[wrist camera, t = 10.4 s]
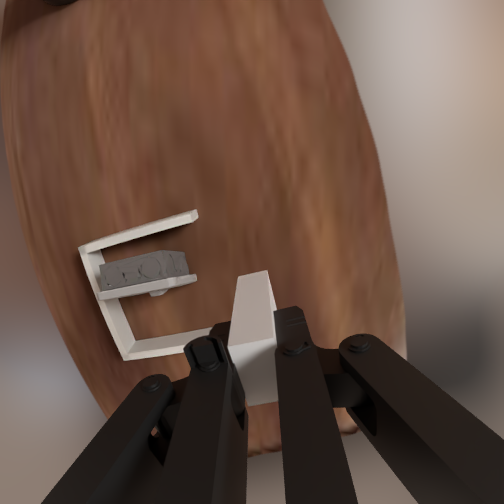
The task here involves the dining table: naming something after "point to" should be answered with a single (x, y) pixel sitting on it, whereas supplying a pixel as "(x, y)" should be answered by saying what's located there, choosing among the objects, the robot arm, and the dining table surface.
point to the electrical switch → (144, 275)
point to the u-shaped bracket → (112, 307)
